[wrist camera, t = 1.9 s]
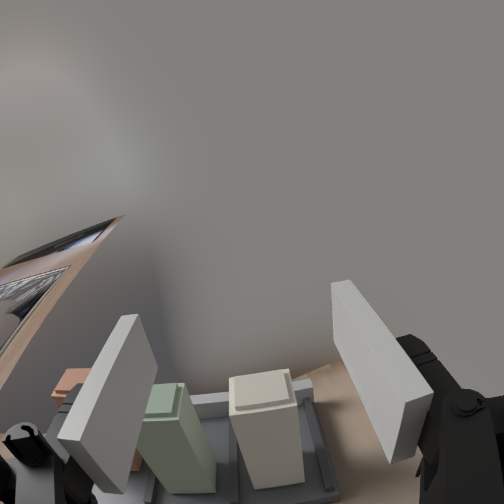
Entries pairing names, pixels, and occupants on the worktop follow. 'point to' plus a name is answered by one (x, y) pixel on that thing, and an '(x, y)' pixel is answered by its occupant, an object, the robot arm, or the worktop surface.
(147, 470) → the grey slotted tray
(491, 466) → the robot arm
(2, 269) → the worktop surface
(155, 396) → the sage green tall block
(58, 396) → the brown tall rectangular block
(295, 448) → the cream tall rectangular block
